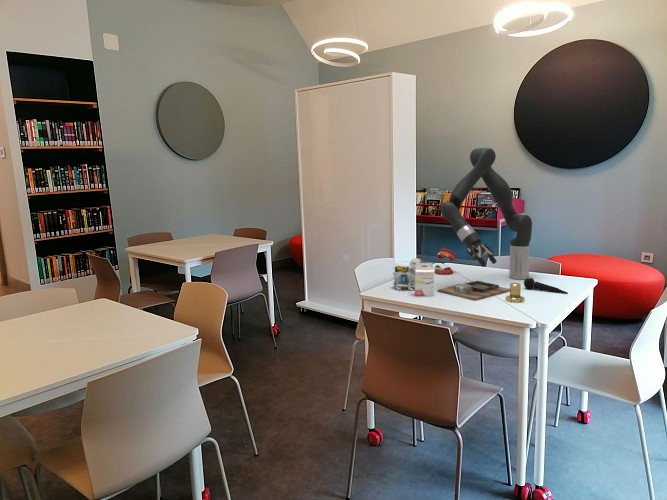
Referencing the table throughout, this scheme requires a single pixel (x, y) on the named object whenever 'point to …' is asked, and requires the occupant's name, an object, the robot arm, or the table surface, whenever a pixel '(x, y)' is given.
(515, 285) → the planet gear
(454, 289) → the carrier plate
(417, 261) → the robotic toy
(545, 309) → the table surface
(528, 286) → the microphone
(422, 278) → the ink cartridge box
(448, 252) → the anatomical model
